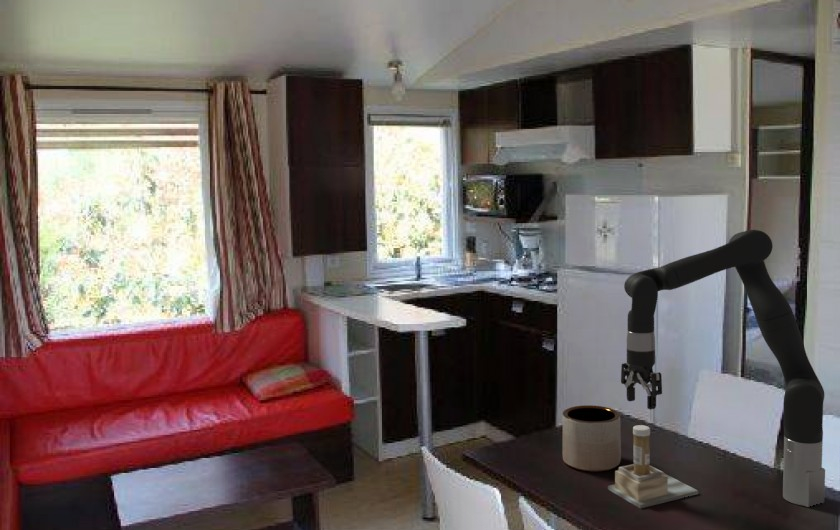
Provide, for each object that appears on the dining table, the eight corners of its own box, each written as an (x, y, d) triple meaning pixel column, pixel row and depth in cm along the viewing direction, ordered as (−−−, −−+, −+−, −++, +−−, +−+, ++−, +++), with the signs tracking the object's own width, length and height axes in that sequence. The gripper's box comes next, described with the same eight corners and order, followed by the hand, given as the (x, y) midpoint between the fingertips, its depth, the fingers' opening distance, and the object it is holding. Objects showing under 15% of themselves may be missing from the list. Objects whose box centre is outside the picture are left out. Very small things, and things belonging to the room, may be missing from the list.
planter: (622, 474, 225) (622, 423, 223) (562, 471, 228) (561, 421, 226) (619, 452, 242) (619, 405, 240) (563, 450, 246) (562, 404, 244)
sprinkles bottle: (652, 476, 208) (652, 429, 206) (637, 477, 207) (637, 430, 206) (645, 469, 212) (645, 423, 211) (630, 471, 212) (630, 425, 210)
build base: (698, 494, 209) (698, 469, 209) (640, 508, 202) (640, 482, 201) (663, 476, 222) (663, 452, 221) (607, 489, 215) (607, 465, 214)
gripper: (669, 350, 200) (669, 409, 202) (635, 340, 213) (635, 396, 215) (647, 354, 198) (647, 414, 199) (613, 343, 211) (613, 400, 212)
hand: (640, 404), depth 207 cm, fingers open, 8 cm apart
